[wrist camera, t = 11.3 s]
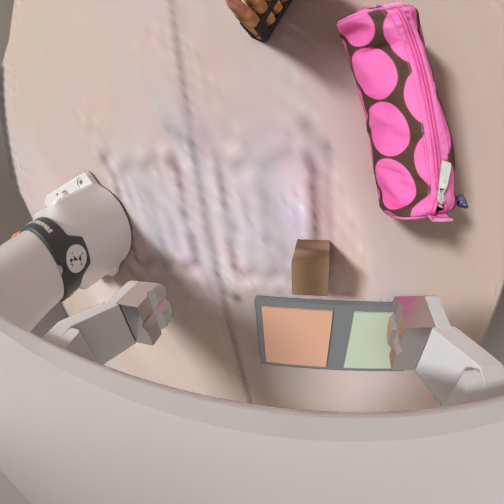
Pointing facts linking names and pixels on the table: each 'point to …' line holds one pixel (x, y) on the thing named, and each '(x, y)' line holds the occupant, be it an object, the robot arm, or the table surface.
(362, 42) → the pencil case
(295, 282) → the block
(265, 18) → the ammunition clip
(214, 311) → the table surface
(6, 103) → the table surface
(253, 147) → the table surface
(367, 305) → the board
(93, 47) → the table surface
